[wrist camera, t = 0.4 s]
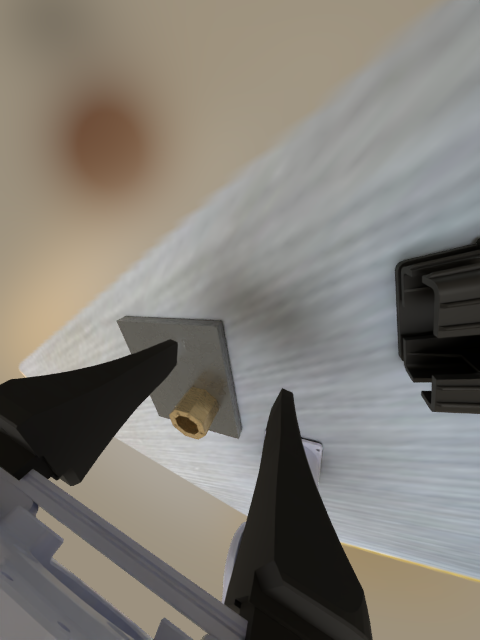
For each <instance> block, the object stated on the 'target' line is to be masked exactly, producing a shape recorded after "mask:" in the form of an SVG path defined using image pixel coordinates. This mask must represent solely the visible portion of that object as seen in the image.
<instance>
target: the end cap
mask: <svg viewBox="0 0 480 640" xmlns="http://www.w3.org/2000/svg"><path fill="white" fill-rule="evenodd" d="M395 281H396V304H397V326H398V349H399V356H400V358H401V359H402V361H404V366H405V369H406V371H407V373H408V375H409V376H410V378H411V380H412V381H413V382H432V391H421V396H422V397H423V399H424V400H425V402H426V403H427V405H428V407H429V408H430V410H431V411H432V412H448V413H471V414H480V238H479V239H478V241H477V244H473V245H467V246H463V247H459V248H454V249H450V250H446V251H442V252H437V253H433V254H429V255H425V256H420V257H416V258H412V259H408V260H404V261H402V262H400V263H399V264H398V265H397V266H396V268H395Z"/></svg>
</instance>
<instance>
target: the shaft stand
mask: <svg viewBox="0 0 480 640" xmlns="http://www.w3.org/2000/svg"><path fill="white" fill-rule="evenodd" d="M117 323H118V325H119V328H120V330H121V332H122V334H123V336H124V339H125V341H126V343H127V345H128V347H129V350H130V352H131V354H134V353H137V352H139V351H142V350H144V349H147V348H149V347H152V346H154V345H157V344H159V343H162V342H164V341H167V340H169V339H171V340H174V341H176V342H178V353H177V365H176V366H175V368H174V369H173V370H172V372H171V373H170V374H169V375H168V377H167V378H166V379H165V380H164V381H163V382H162V383H161V384H160V385H159V386H158V387H157V388H156V389H155V390H154V391H153V392H152V393H151V394H150V396H151V398H152V401H153V403H154V405H155V407H156V410H157V412H158V414H159V416H161V417H164V418H168V419H170V417H169V414H170V413H171V412H172V410H173V409H174V408H175V406H176V405H177V404H178V403H179V401H180V400H181V399H182V397H183V396H184V395H185V393H186V392H187V391H188V390H189V389H190V388H192V387H195V388H200V389H205V390H206V391H207V392H208V393H210V394H211V395H212V396H213V397H214V398H215V399H216V400H217V405H218V409H219V410H218V412H217V414H216V416H215V418H214V420H213V422H212V424H211V426H210V428H209V430H210V431H213V432H217V433H220V434H224V435H227V436H231V437H234V438H238V439H239V437H240V434H241V431H242V428H241V422H240V417H239V411H238V406H237V400H236V395H235V389H234V384H233V378H232V373H231V367H230V362H229V356H228V351H227V345H226V340H225V334H224V329H223V323H222V321H217V320H195V319H173V318H151V317H129V316H125V317H123V318H121V319H119V320H117Z"/></svg>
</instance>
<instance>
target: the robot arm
mask: <svg viewBox="0 0 480 640" xmlns="http://www.w3.org/2000/svg"><path fill="white" fill-rule="evenodd" d="M177 353H178V342H176V341H174V340H171V339H169V340H167V341H164V342H162V343H159V344H157V345H154V346H152V347H149V348H147V349H144V350H142V351H139V352H137V353H134V354H131V355H128V356H125V357H122V358H119V359H116V360H113V361H110V362H106V363H103V364H99V365H95V366H91V367H87V368H82V369H78V370H73V371H68V372H62V373H57V374H50V375H44V376H36V377H28V378H20V379H11V380H8V381H7V382H5V383H3V384H1V385H0V640H193V639H192V638H191V637H189V636H188V635H187V634H185V633H184V632H183V631H181V630H180V629H179V628H178V627H176V626H175V625H174V624H172V623H171V622H170V621H169V620H167V619H166V618H163V619H162V620H161V623H160V625H159V627H158V630H157V633H156V635H155V638H154V639H153V638H151V637H150V636H149V635H148V634H147V633H146V632H144V631H143V630H142V629H141V628H140V627H138V626H137V625H136V624H135V623H134V622H132V621H131V620H130V619H129V618H128V617H126V616H125V615H124V614H123V613H122V612H121V611H119V610H118V609H117V608H116V607H115V606H113V605H112V604H111V603H110V602H108V601H107V600H106V599H105V598H103V597H102V596H101V595H100V594H98V593H97V592H96V591H95V590H93V589H92V588H91V587H89V586H88V585H87V584H86V583H84V582H83V581H82V580H81V579H79V578H78V577H76V576H75V575H74V574H73V573H72V572H70V571H69V570H68V569H66V568H65V567H64V566H63V565H61V564H60V563H59V562H57V561H56V560H55V559H53V558H52V556H53V554H54V553H55V552H56V551H57V550H58V548H59V547H60V546H61V544H62V543H63V538H61V537H60V536H59V535H57V534H56V533H55V532H54V531H52V530H51V529H50V528H49V527H47V526H46V525H45V524H43V523H42V522H41V521H40V520H38V519H37V518H36V513H37V511H38V506H40V507H41V508H42V509H44V510H45V511H46V512H48V513H49V514H50V515H52V516H53V517H54V518H56V519H57V520H58V521H60V522H61V523H62V524H63V525H65V526H66V527H67V528H69V529H70V530H72V531H73V532H74V533H75V534H77V535H78V536H79V537H81V538H82V539H83V540H85V541H86V542H87V543H89V544H90V545H91V546H93V547H94V548H95V549H97V550H98V551H100V552H101V553H102V554H103V555H105V556H106V557H107V558H109V559H110V560H111V561H112V562H114V563H115V564H116V565H118V566H119V567H121V568H122V569H123V570H124V571H126V572H127V573H128V574H130V575H131V576H132V577H134V578H135V579H136V580H138V581H139V582H140V583H142V584H143V585H144V586H146V587H147V588H148V589H150V590H151V591H152V592H154V593H155V594H156V595H158V596H159V597H160V598H162V599H163V600H164V601H166V602H167V603H168V604H170V605H171V606H172V607H173V608H175V609H176V610H177V611H179V612H180V613H181V614H183V615H184V616H185V617H187V618H188V619H189V620H191V621H192V622H193V623H195V624H196V625H197V626H199V627H200V628H201V629H203V630H204V631H205V632H207V633H208V634H209V635H208V634H207V635H205V636H203V638H202V639H201V640H372V633H371V626H370V619H369V615H368V609H367V605H366V601H365V595H364V591H363V589H362V587H361V585H360V583H359V581H358V579H357V576H356V574H355V573H354V570H353V568H352V566H351V564H350V562H349V560H348V558H347V556H346V554H345V552H344V550H343V548H342V545H341V543H340V541H339V539H338V537H337V534H336V532H335V530H334V528H333V525H332V523H331V521H330V518H329V516H328V514H327V511H326V509H325V506H324V504H323V501H322V499H321V497H320V494H319V492H318V482H319V475H320V466H321V457H322V445H321V444H320V443H316V442H312V441H308V440H304V439H301V435H300V431H299V426H298V422H297V417H296V411H295V405H294V398H293V393H292V392H290V391H287V390H285V389H283V388H282V389H281V391H280V393H279V395H278V397H277V399H276V401H275V403H274V405H273V407H272V409H271V412H270V416H269V420H268V423H267V428H266V431H265V433H264V434H265V440H264V446H263V452H262V458H261V464H260V469H259V474H258V478H257V482H256V486H255V490H254V494H253V498H252V502H251V506H250V510H249V513H248V517H247V521H246V522H244V523H242V524H241V526H240V527H239V528H238V529H237V531H236V533H235V534H234V536H233V539H232V542H231V545H230V548H229V552H228V555H227V560H226V565H225V571H224V580H223V597H222V603H221V602H220V601H219V600H217V599H216V598H214V597H213V596H212V595H210V594H209V593H207V592H206V591H205V590H203V589H202V588H200V587H199V586H197V585H196V584H195V583H193V582H192V581H190V580H189V579H188V578H186V577H185V576H183V575H182V574H180V573H179V572H178V571H176V570H175V569H173V568H172V567H171V566H169V565H168V564H166V563H165V562H164V561H162V560H161V559H159V558H158V557H156V556H155V555H153V554H152V553H151V552H150V551H148V550H147V549H145V548H144V547H142V546H141V545H140V544H138V543H137V542H135V541H134V540H132V539H131V538H130V537H128V536H127V535H125V534H124V533H123V532H121V531H120V530H118V529H117V528H116V527H114V526H113V525H111V524H110V523H108V522H107V521H106V520H104V519H103V518H101V517H100V516H99V515H97V514H96V513H94V512H93V511H92V510H90V509H89V508H87V507H86V506H85V505H83V504H82V503H80V502H79V501H78V500H76V499H75V498H73V497H72V496H70V495H69V494H68V493H66V492H65V491H63V490H62V489H61V488H59V487H58V486H56V485H55V484H54V483H52V482H51V481H49V480H48V479H49V478H50V477H52V478H54V479H55V480H58V479H59V478H60V479H61V480H63V481H64V482H66V483H67V484H69V485H70V486H74V485H76V484H78V483H80V482H81V481H82V480H83V478H84V477H85V475H86V474H87V473H88V471H89V470H90V468H91V467H92V465H93V464H94V463H95V461H96V460H97V458H98V457H99V456H100V454H101V453H102V452H103V450H104V449H105V448H106V446H107V445H108V444H109V442H110V441H111V440H112V438H113V437H114V436H115V434H116V433H117V432H118V431H119V429H120V428H121V427H122V426H123V424H124V423H125V422H126V421H127V419H128V418H129V417H130V416H131V415H132V413H133V412H134V411H135V410H136V409H137V407H138V406H139V405H140V404H141V403H142V402H143V401H144V400H145V399H146V398H147V397H148V396H149V395H150V394H151V393H152V392H153V391H154V390H155V389H156V388H157V387H158V386H159V385H160V384H161V383H162V382H163V381H164V380H165V379H166V378H167V377H168V375H169V374H170V373H171V372H172V370H173V369H174V368H175V366H176V365H177Z"/></svg>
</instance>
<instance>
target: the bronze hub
mask: <svg viewBox="0 0 480 640" xmlns="http://www.w3.org/2000/svg"><path fill="white" fill-rule="evenodd" d="M218 410H219V409H218V405H217V400H216V399H215V398H214V397H213V396H212V395H211V394H210V393H208V392H207V391H206V390H205V389H200V388H195V387H192V388H190V389H189V390H188V391H187V392H186V393H185V395H184V396H183V397H182V399H181V400H180V401H179V403H178V404H177V405H176V406H175V408H174V409H173V410H172V412H171V413H170V414H169V417H170V419H171V421H172V424H173V426H174V427H175V428H177V429H178V430H179V431H180V432H181V433H183V434H184V435H185V436H188V437H192V438H195V439H200V438H202V437H204V436H205V435H206V434H207V432H208V430H209V428H210V426H211V424H212V422H213V420H214V418H215V416H216V414H217V412H218Z"/></svg>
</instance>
